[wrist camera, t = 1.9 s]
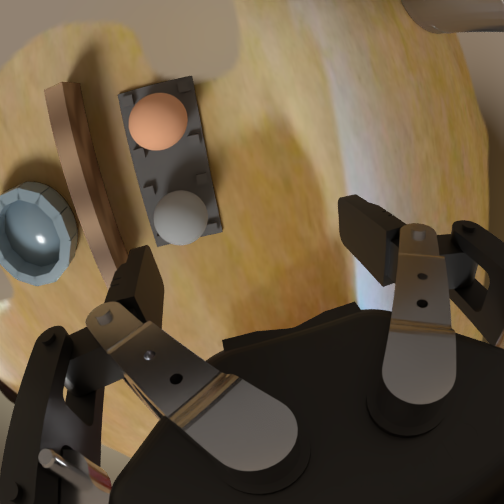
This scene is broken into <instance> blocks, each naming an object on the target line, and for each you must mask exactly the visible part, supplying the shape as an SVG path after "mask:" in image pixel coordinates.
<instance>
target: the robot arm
mask: <svg viewBox="0 0 504 504" xmlns="http://www.w3.org/2000/svg"><path fill="white" fill-rule="evenodd" d="M401 1H402V4H403V5H404V7H405V9H406V11H407V12H408V14H409V15H410V16H411V18H412V19H413V20H414V21H415V22H416V23H417V24H418V25H420V26H421V27H422V28H424V29H425V30H427V31H429V32H432V33H437V34H441V33H456V32H504V0H401ZM338 214H339V232H340V237H341V240H342V242H343V244H344V246H345V247H346V248H347V249H348V250H349V251H350V252H351V253H352V254H353V255H354V256H355V257H356V258H357V259H358V260H359V261H360V262H361V263H362V265H363V266H364V267H365V268H366V269H367V270H368V271H369V272H370V273H371V274H372V275H373V276H374V278H375V279H376V280H377V281H378V282H379V283H380V284H381V285H382V286H383V287H384V286H387V285H390V284H392V283H395V292H394V300H393V307H392V312H390V311H386V310H376V309H368V310H361V309H360V308H359V307H358V305H357V304H356V303H355V302H352V303H349V304H346V305H343V306H340V307H337V308H334V309H331V310H328V311H325V312H323V313H321V314H319V315H317V316H315V317H314V318H312V319H310V320H308V321H306V322H304V323H302V324H300V325H298V326H296V327H294V328H288V329H278V330H266V331H256V332H252V333H248V334H244V335H240V336H236V337H232V338H228V339H224V340H222V342H223V348H224V350H223V351H221V352H219V353H217V354H215V355H214V356H212V357H211V358H209V359H208V360H206V361H204V360H203V359H201V358H200V357H199V356H197V355H196V354H194V353H193V352H192V351H190V350H189V349H187V348H186V347H185V346H183V345H182V344H181V343H179V342H178V341H177V340H175V339H174V338H173V337H171V336H170V335H169V334H167V333H166V332H165V331H163V330H162V315H163V301H164V285H163V281H162V278H161V275H160V272H159V270H158V267H157V265H156V262H155V260H154V257H153V254H152V252H151V249H150V247H149V246H148V245H145V246H142V247H138V248H134V249H131V250H130V252H129V255H128V258H127V261H126V263H124V264H121V265H120V267H119V268H118V269H117V270H116V271H115V273H114V276H113V279H112V281H111V284H110V287H109V290H108V293H107V296H106V299H105V302H104V304H101V305H99V306H98V307H96V308H95V309H93V310H92V311H91V312H90V314H89V315H88V316H87V319H86V326H87V327H85V328H83V329H81V330H79V331H77V332H75V333H73V334H71V335H69V334H68V333H67V331H66V330H65V328H64V327H62V326H54V327H51V328H49V329H47V330H46V331H44V332H43V333H42V334H41V335H40V336H39V337H38V339H37V340H36V342H35V345H34V347H33V350H32V353H31V356H30V358H29V361H28V364H27V367H26V370H25V373H24V376H23V379H22V382H21V385H20V389H19V392H18V395H17V399H16V402H15V406H14V410H13V414H12V418H11V422H10V426H9V430H8V435H7V439H6V444H5V449H4V455H3V461H2V467H1V475H0V504H504V242H502V241H501V240H500V239H498V238H497V237H496V236H494V235H493V234H491V233H490V232H489V231H487V230H486V229H484V228H483V227H481V226H480V225H478V224H476V223H474V222H471V221H465V220H461V221H456V222H454V223H453V225H452V232H451V234H446V235H437V234H436V232H435V230H434V229H433V228H431V227H429V226H427V225H424V224H418V223H412V224H405V223H404V222H402V221H401V220H399V219H398V218H397V217H395V216H394V215H393V216H392V214H391V213H389V212H388V211H387V212H386V210H385V209H383V208H382V207H380V206H378V205H375V204H372V203H369V202H367V201H366V200H364V199H363V198H361V197H359V196H358V195H356V194H355V195H350V196H345V197H341V198H339V200H338ZM478 265H480V266H481V267H482V268H483V269H484V270H485V271H486V272H487V273H488V275H489V278H490V285H489V288H488V290H487V289H486V288H485V287H484V286H483V285H481V284H480V283H479V282H478V281H477V280H476V279H475V274H476V270H477V266H478ZM449 298H450V299H451V300H452V301H453V302H454V303H455V304H456V305H457V306H458V308H459V309H460V310H461V311H462V312H463V313H464V314H465V315H466V316H467V318H468V319H469V320H470V321H471V322H472V323H473V324H474V326H475V327H476V328H477V329H478V330H479V331H480V333H481V334H482V335H483V336H484V337H485V338H486V340H487V341H488V342H489V343H490V344H488V343H485V342H482V341H479V340H476V339H473V338H470V337H467V336H464V335H460V334H457V333H455V331H454V330H453V329H452V327H451V312H450V299H449ZM120 379H123V380H124V381H125V383H126V384H127V385H128V386H129V387H130V388H131V390H132V391H133V392H134V393H135V394H136V395H137V396H138V397H139V399H140V400H141V401H142V402H143V403H144V404H145V405H146V406H147V407H148V408H149V409H150V411H151V412H152V413H153V414H154V415H155V416H156V417H157V418H158V419H159V421H158V423H157V424H156V426H155V427H154V428H153V430H152V431H151V432H150V434H149V435H148V436H147V438H146V439H145V441H144V442H143V443H142V445H141V446H140V447H139V449H138V450H137V451H136V453H135V454H134V455H133V457H132V458H131V459H130V461H129V462H128V464H127V465H126V466H125V467H124V469H123V470H122V471H121V473H120V474H119V476H118V477H117V478H116V480H115V482H114V484H113V486H111V481H110V478H109V476H108V474H107V473H106V472H105V471H104V470H103V469H102V468H100V459H101V458H100V457H101V429H102V413H103V400H104V389H105V386H107V385H109V384H111V383H114V382H116V381H118V380H120ZM64 386H65V387H66V388H67V389H68V390H67V395H66V401H64V398H63V388H64Z"/></svg>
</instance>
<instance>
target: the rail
mask: <svg viewBox="0 0 504 504" xmlns="http://www.w3.org/2000/svg"><path fill="white" fill-rule="evenodd" d="M44 92H45V98H46V103H47V108H48V113H49V118H50V122H51V127H52V131H53V135H54V139H55V143H56V147H57V151H58V155H59V159H60V162H61V166H62V169H63V173H64V176H65V179H66V182H67V186H68V189H69V192H70V195H71V198H72V201H73V204H74V207H75V210H76V213H77V215H78V218H79V221H80V224H81V226H82V229H83V232H84V234H85V237H86V239H87V242H88V244H89V247H90V249H91V252H92V254H93V257H94V259H95V261H96V264H97V266H98V268H99V271H100V273H101V275H102V277H103V280H104V282H105V284H106V286H107V288H108V290H109V287H110V284H111V281H112V279H113V276H114V273H115V271H116V270H117V269H118V268H119V267H120V265H121V264H124V263H126V261H127V258H128V255H127V252H126V250H125V247H124V244H123V241H122V239H121V236H120V233H119V230H118V227H117V224H116V221H115V218H114V215H113V212H112V209H111V206H110V203H109V200H108V197H107V194H106V190H105V187H104V184H103V180H102V177H101V173H100V170H99V166H98V162H97V159H96V155H95V151H94V147H93V143H92V139H91V135H90V131H89V127H88V122H87V118H86V113H85V109H84V104H83V99H82V94H81V88H80V83H70V82H60V83H58V84H56V85H54V86H52V87H49V88H47V89H45V90H44Z"/></svg>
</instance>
